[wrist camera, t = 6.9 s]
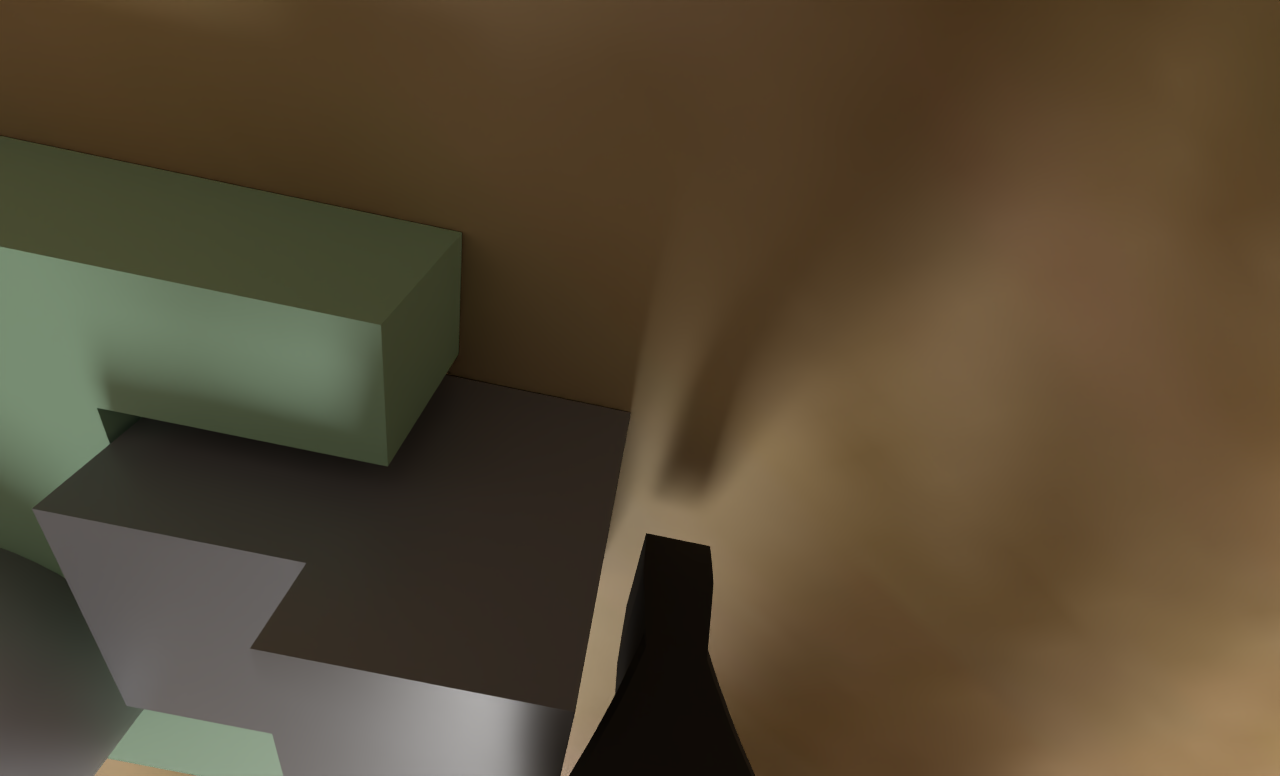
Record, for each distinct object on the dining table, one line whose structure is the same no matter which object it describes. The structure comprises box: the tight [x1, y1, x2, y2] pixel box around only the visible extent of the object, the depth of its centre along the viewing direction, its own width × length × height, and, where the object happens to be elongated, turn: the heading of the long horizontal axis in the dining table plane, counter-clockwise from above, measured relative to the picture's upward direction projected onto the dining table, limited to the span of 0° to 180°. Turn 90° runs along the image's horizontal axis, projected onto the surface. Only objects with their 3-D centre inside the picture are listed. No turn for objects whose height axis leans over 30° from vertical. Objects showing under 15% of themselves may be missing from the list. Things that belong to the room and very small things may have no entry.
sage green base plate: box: [0, 136, 462, 776], centre depth 11 cm, size 13×11×7 cm
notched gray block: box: [32, 375, 631, 776], centre depth 11 cm, size 4×7×6 cm, turn 80°
